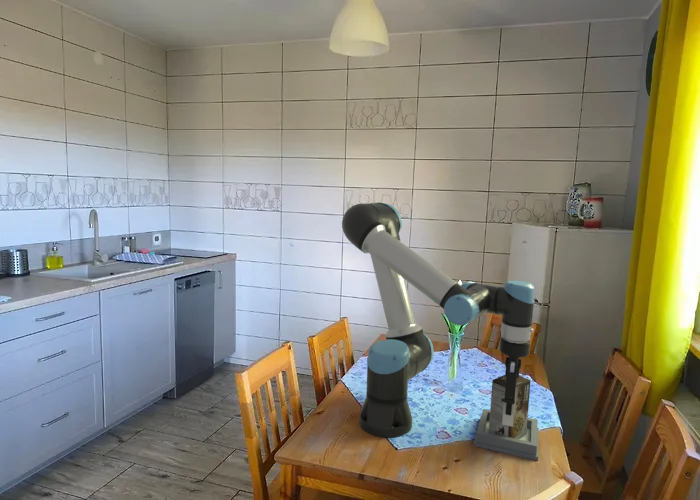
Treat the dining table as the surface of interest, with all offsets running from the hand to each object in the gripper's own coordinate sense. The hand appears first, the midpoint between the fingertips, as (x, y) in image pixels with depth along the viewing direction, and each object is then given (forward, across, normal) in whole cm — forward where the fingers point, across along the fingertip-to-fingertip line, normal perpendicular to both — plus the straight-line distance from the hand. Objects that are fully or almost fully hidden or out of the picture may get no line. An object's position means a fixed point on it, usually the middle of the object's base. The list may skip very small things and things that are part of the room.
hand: (509, 413), depth 129 cm
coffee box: (+6, 0, 0) cm, 6 cm away
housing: (+7, 0, 0) cm, 7 cm away
